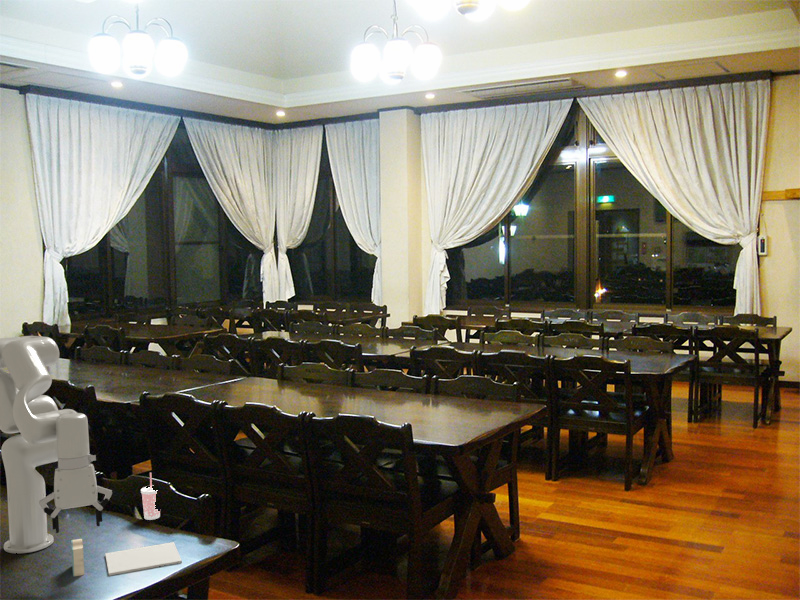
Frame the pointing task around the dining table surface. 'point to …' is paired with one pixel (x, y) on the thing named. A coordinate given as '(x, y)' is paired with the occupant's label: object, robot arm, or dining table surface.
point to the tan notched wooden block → (77, 557)
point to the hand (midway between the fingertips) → (77, 528)
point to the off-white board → (142, 558)
